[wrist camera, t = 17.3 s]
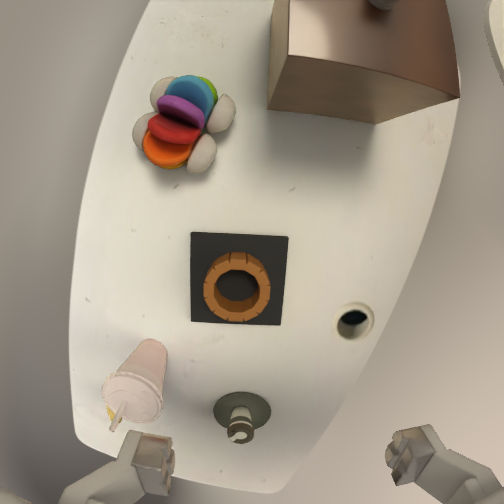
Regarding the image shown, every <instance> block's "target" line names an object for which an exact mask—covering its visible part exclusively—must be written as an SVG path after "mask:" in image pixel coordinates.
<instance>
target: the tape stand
mask: <svg viewBox="0 0 504 504" xmlns="http://www.w3.org/2000/svg"><path fill="white" fill-rule="evenodd" d="M457 98H460V89H459V78H458V68H457V60H456V53H455V46H454V41H453V34H452V29H451V23H450V18H449V14H448V10H447V5H446V1H445V0H274V5H273V10H272V16H271V36H270V55H269V74H268V93H267V110H276V111H287V112H297V113H306V114H314V115H322V116H329V117H336V118H342V119H348V120H354V121H360V122H365V123H371V124H378V123H381V122H384V121H387V120H390V119H393V118H396V117H399V116H402V115H405V114H408V113H411V112H414V111H417V110H421V109H424V108H427V107H430V106H433V105H437V104H440V103H444V102H447V101H450V100H454V99H457Z"/></svg>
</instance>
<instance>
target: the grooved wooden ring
mask: <svg viewBox="0 0 504 504" xmlns="http://www.w3.org/2000/svg"><path fill="white" fill-rule="evenodd" d="M229 270H245V271H246V272H248V273H250V274H251V275H253V276H255V278H256V280H257V282H258V289H257V290H256V291H255V293H254V294H253V296H252V297H250V298H248V299H246V300H244V301H230V300H228V299H227V298H225V297H223V296H222V295H221V294H220V292H219V290H218V288H217V287H216V281H217V279H218V278H219V276H220V275H221V274H223V273H225V272H227V271H229ZM204 297H205V299H204V300H205V301H206V303H207V305H208V306H209V308H210V310H211V311H214V312H213V313H214V314H216V315H218V316H219V317H221V318H223V319H224V320H227V318H228V321H240V322H243V319H244V320H245V321H247V320H249V319H251V318H253V317H255V316H258V313H261V312H262V310H263V309H264V308H265V306H266V305H267V304H268V300H269V299H270V282H269V278H268V274H267V272H266V270H265V268H264V266H263V264H262V263H260V260H258V259H256V258H255V257H253V256H252V255H250V254H247V255H246V253H245V252H231V255H230V253H227V254H225V255H223V256H221V257H219V258H217V259H216V260H215V261H214V262H213V264H212V265H211V267H210V268H209V270H208V272H207V275H206V278H205V281H204Z"/></svg>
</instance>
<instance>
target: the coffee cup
mask: <svg viewBox="0 0 504 504" xmlns="http://www.w3.org/2000/svg"><path fill="white" fill-rule="evenodd" d="M213 414H214V417H215V419H216V420H217V422H218V423H219V424H221V425H222V426H223V427H225V428H227V434H228V438H229V440H230V441H231V442H234V443H238V444H244V443H247V442H249V441H251V440H252V439H253V436H254V429H257V428H259V427H261V426H263V425H264V424H265V423H266V422H267V421H268V420H269V418H270V415H271V409H270V406H269V404H268V403H267V402H266V401H265V400H264V399H263V398H261V397H259V396H257V395H254V394H251V393H233V394H229V395H227V396H224V397H222V398H221V399H220V400H218V402H217V403H216V404H215V406H214V410H213Z"/></svg>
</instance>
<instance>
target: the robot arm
mask: <svg viewBox="0 0 504 504" xmlns="http://www.w3.org/2000/svg"><path fill="white" fill-rule="evenodd" d="M392 439H393V441H392V442H391V443H390V444H389V445H388V446H387V449H386V452H385V459H386V463H387V466H388V467H390V468H392V469H393V471H392V473H391V475H392V477H393V480H394V482H395V484H396V486H399V485H403V484H407V483H411V482H415V483H416V484H417V485H418V486H420V487H421V488H422V489H424V490H425V491H426V492H428V493H429V494H430V495H432V496H433V497H435V498H436V499H437V500H439V501H440V502H441V503H443V504H504V487H502V486H501V484H500V483H499V481H498V480H497V478H496V477H495V475H494V473H493V472H492V470H491V469H490V468H488V467H486V466H484V465H481V464H479V463H477V462H475V461H473V460H471V459H469V458H467V457H465V456H463V455H461V454H459V453H457V452H454V451H453V450H451V449H448V450H447V449H446V447H445V446H444V444H443V443H442V441H441V440H440V438H439V436H438V435H437V433H436V432H435V430H434V429H433V427H432V426H431V425H429V424H427V425H423V426H419V427H414V428H409V429H405V430H400V431H396V432H395V433H394V434H393V437H392ZM172 444H173V443H172V438H171V437H165V436H160V435H154V434H149V433H144V432H138V431H133V430H130V431H129V432H128V433H127V435H126V437H125V440H124V442H123V445H122V447H121V449H120V452H119V454H118V457H117V459H116V462H115V461H111V462H109V463H108V464H106V465H104V466H103V467H101V468H99V469H98V470H96V471H94V472H92V473H91V474H89V475H87V476H86V477H84V478H82V479H80V480H79V481H77V482H75V483H73V484H71V485H70V486H68V487H66V488H65V490H64V492H63V494H62V496H61V498H60V500H59V502H58V504H134V503H135V502H136V501H137V500H139V499H140V498H141V497H142V496H143V495H144V494H145V493H151V494H157V495H164V496H168V495H169V491H170V486H171V479H170V475H172V474H173V472H174V467H175V453H174V450H173V449H171V448H172ZM0 504H32V503H30V502H28V501H27V500H25V499H23V498H21V497H19V496H17V495H15V494H13V493H12V492H10V491H8V490H6V489H5V488H3V487H1V486H0Z"/></svg>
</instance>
